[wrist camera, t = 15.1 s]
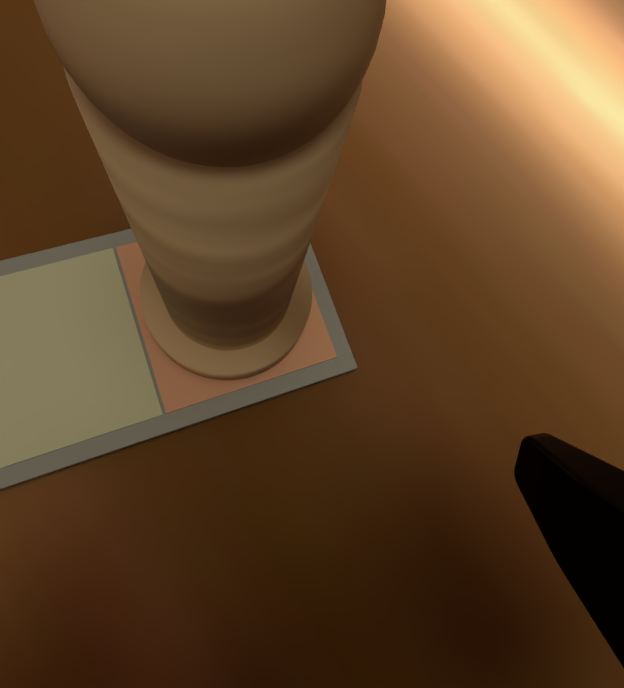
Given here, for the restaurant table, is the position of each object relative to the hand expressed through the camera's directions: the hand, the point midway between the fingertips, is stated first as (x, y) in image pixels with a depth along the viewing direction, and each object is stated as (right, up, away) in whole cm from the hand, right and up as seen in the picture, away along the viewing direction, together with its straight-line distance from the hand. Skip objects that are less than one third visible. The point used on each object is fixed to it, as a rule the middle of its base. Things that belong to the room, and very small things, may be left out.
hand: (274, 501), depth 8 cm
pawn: (-2, +4, +8) cm, 9 cm away
